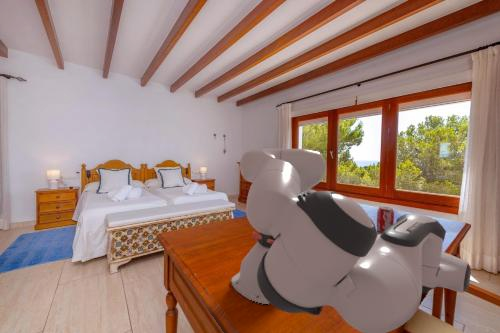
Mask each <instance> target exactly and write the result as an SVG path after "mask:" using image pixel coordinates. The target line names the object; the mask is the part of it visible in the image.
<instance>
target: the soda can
mask: <svg viewBox="0 0 500 333" xmlns="http://www.w3.org/2000/svg"><path fill="white" fill-rule="evenodd" d="M376 215H377V216H376V231H378V232H380V233H381V234H382V233H383V232H384V231H385V229H387V228H388V227H389V226H391V225H393V224H395V223H394V222H395V212H394V209H393V208H391V207H388V206H379V208H378V209H377V213H376Z"/></svg>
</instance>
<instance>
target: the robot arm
mask: <svg viewBox="0 0 500 333" xmlns="http://www.w3.org/2000/svg"><path fill="white" fill-rule="evenodd" d="M239 161H240V162H239V170H240V175H242V178H243V179H244V180H245V181H247V182H250V183H251V185H250V187H249V190H248V194H247V198H246V205H245V211H246V212H245V213H246V217H247V220H248V222H249V224H250V225H251V227H252V228H253V229H254V230H256V231H253V232H252V234H251V239H253V240H255V241H257V242H256V243H255V244H254V245H253V247H252V248H251V249H250V250H249V251H248V253H247V254H246V256H245V257H244V258H242V260H241V263H240V269H239V272H238V273H236V274H235V275H234V276H232V277H231V280H230V281H231V285H232V287H233V288H234V289H235V291H236V292H238V293H239V294H241V295H242V296H243V297H245V298H246V299H247V300H250V301H251V300H252V301H251V302H253V301H255V302H254V303H256V302H258V303H257V304H259V303H262V304H261V305H263V304H268V305H270V304H271V305H272V306H273V307H275V308H276V309H277V310H280V311H282V312H285V313H289V314H299V313H300V314H301V313H305V314H308V315H311V316H319V315H320V314H321V313H322V311H323V307H324V306H330V307H332V308H333V309H335V310H336V311H337V313H338V314H339V315H340V317H341V318H342V319H343V320H344V322H346V323H347V324H349V326H351V328H352V327H353V329H355V330H357V331H359V332H361V333H390V332H391V331H395V330H396V329H398V328H400V327H401V326H403V325H405V324H406V323H407V322H408V321H410V319H412V317H413V316H414V315H415V314H416V312H417V311H418V310H419V308H420V304H421V300H422V295H423V293H427V292H430V291H431V290H434V289H435V288H437V287H439V288H446V289H448V290H451V291H455V292H458V293H465V292H467V290H468V289H469V286H470V281H471V271H472V270H471V269H472V268H471V265H470V264H469V262H467V261H466V260H464V259H462V258H459V257H457V256H455V255H452V254H450V253H447V252H446V251H443V245H444V242H445V239H446V233H447V230H446V229H445V228H444V226H443V225H442V224H441V223H440V222H439V221H438V220H437V219H434V218H432V217H429V216H427V215H423V214H419V213H409V214H407V213H405V214H403V215H401V216H399V217H397V218H396V220H395V223H394V224H393V225H391V226H389V227H388V228H387V229H385V231H384V232H383V233H382V232H381V233H379V234H378V232H377V231H378V230H377V226H376V225H375V223H374V221H373V220H372V218H371V217H370V216H369V215H368V213H367V212H366V210H365V209H364V208H363V207H362V206H361V205H360V204H359V203H358V202H356V201H355V200H353V199H351V198H350V197H348V196H345V195H342V194H340V192H336V191H331V190H330V191H329V190H316V191H317V192H313V193H311V192H308V191H309V190H310V189H311V190H312V189H313V187H315V186H317V185H318V184H319V183H321V182H322V180H323V179H324V177H325V176H326V172H327V162H326V160H325V157H324V156H323V155H322V153H321V152H320V151H315V150H311V149H306V148H256V149H251V150H246V151H245V153H244V154H243V155H242V156H241V158H240V160H239ZM257 232H258V233H257ZM269 303H270V304H269Z"/></svg>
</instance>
